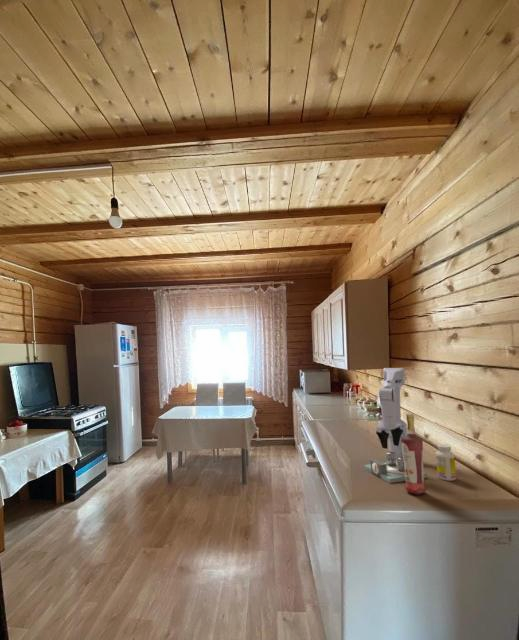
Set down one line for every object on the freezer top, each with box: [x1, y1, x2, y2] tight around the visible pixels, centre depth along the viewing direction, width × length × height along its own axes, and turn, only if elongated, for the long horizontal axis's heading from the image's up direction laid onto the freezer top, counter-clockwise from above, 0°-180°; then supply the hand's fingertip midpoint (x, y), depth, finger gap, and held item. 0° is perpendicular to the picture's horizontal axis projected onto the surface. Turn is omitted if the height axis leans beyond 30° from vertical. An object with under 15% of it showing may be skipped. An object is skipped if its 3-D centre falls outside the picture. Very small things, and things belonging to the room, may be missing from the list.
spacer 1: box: [384, 450, 396, 466], centre depth 148 cm, size 4×4×5 cm
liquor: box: [401, 413, 427, 496], centre depth 125 cm, size 7×7×28 cm
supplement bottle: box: [435, 443, 457, 482], centre depth 137 cm, size 7×7×13 cm
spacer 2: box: [397, 456, 405, 472], centre depth 141 cm, size 4×4×5 cm
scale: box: [363, 459, 428, 484], centre depth 144 cm, size 18×18×5 cm
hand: (390, 446), depth 148 cm, fingers open, 7 cm apart
